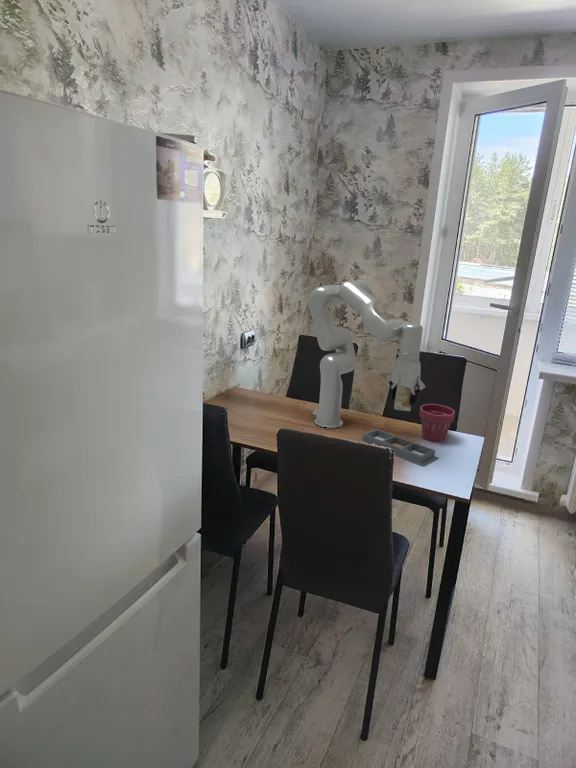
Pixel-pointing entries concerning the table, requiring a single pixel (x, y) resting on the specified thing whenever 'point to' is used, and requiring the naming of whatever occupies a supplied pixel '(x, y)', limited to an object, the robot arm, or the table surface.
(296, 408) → the table surface
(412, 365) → the robot arm
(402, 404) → the skincare box
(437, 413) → the plant pot
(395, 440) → the three-slot frame tray
